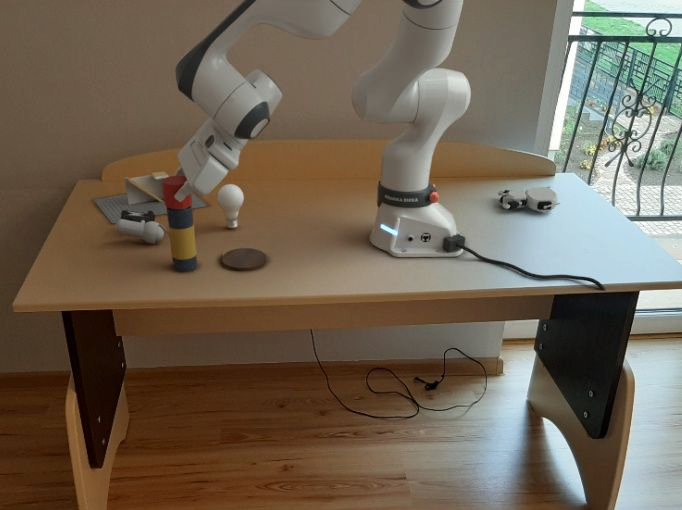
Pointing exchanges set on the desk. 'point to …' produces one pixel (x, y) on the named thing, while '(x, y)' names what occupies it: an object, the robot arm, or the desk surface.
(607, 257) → the desk surface
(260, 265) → the coaster
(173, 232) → the spray can
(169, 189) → the cap
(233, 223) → the lightbulb
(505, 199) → the robot toy
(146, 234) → the clip-on lamp
